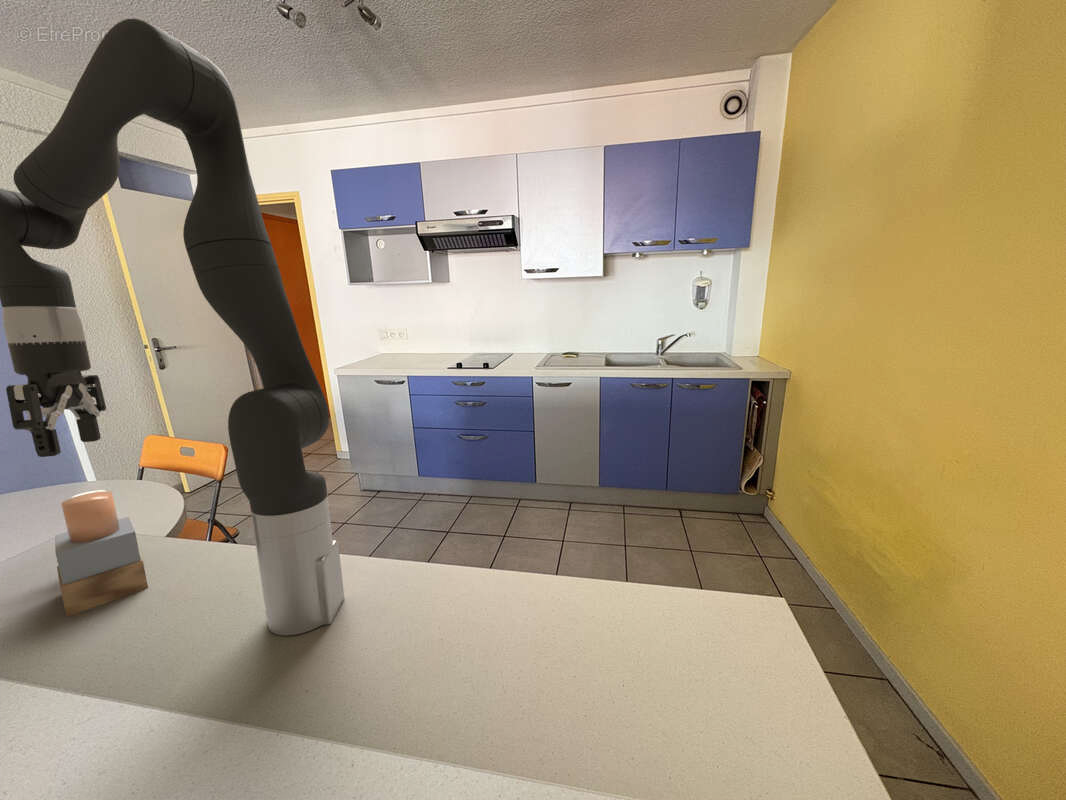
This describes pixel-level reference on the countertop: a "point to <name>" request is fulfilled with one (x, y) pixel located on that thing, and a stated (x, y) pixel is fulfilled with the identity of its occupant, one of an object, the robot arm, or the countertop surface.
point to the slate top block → (96, 553)
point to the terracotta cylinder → (90, 516)
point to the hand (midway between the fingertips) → (71, 448)
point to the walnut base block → (102, 587)
